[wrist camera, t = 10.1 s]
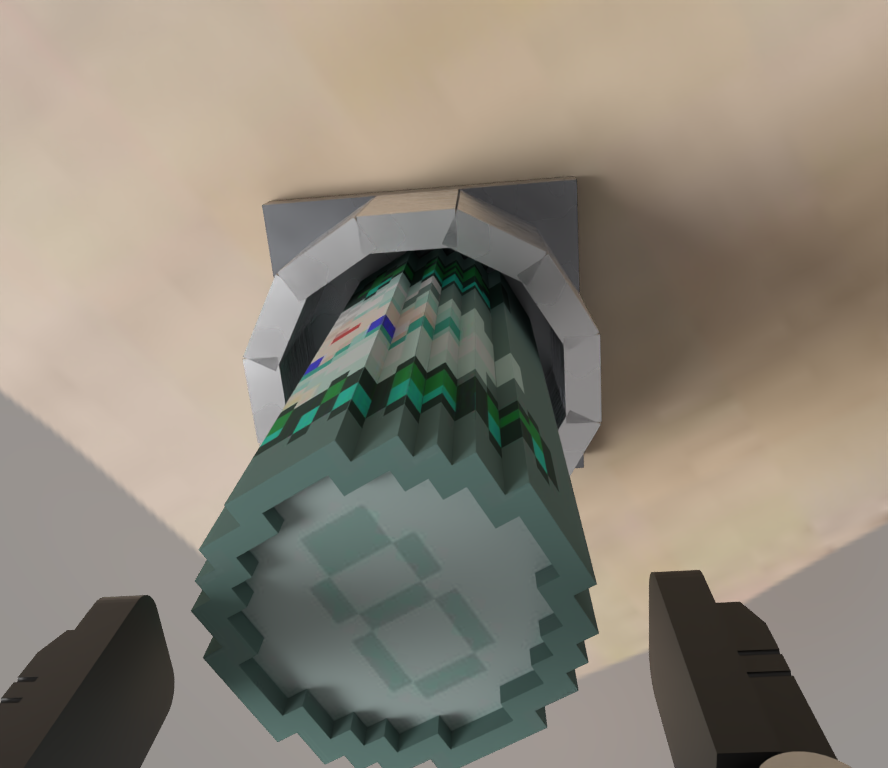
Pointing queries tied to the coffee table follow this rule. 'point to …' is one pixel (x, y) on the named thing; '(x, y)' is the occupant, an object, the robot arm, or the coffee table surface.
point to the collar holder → (420, 229)
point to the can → (406, 534)
